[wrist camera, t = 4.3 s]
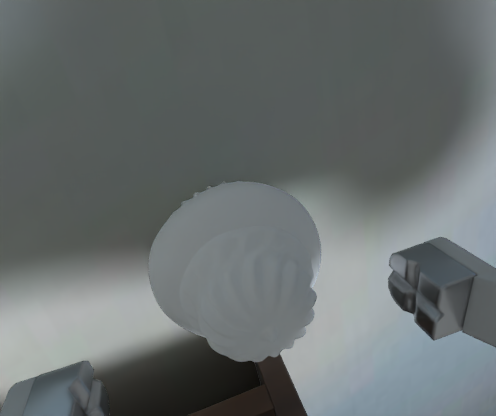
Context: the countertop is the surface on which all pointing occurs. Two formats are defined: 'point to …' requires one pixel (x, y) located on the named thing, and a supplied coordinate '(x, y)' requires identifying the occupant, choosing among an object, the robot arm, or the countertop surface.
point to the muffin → (238, 269)
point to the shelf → (262, 395)
